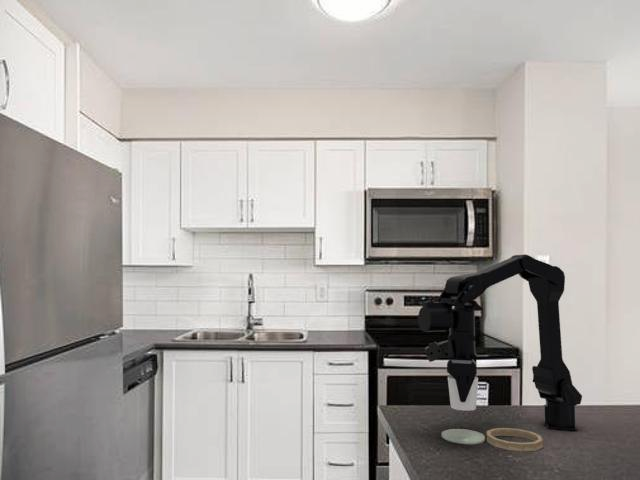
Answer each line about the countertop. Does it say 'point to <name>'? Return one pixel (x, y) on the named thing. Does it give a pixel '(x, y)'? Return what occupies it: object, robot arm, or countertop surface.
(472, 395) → the shot glass
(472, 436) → the pale green round disc
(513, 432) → the collar
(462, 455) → the countertop surface
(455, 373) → the robot arm
